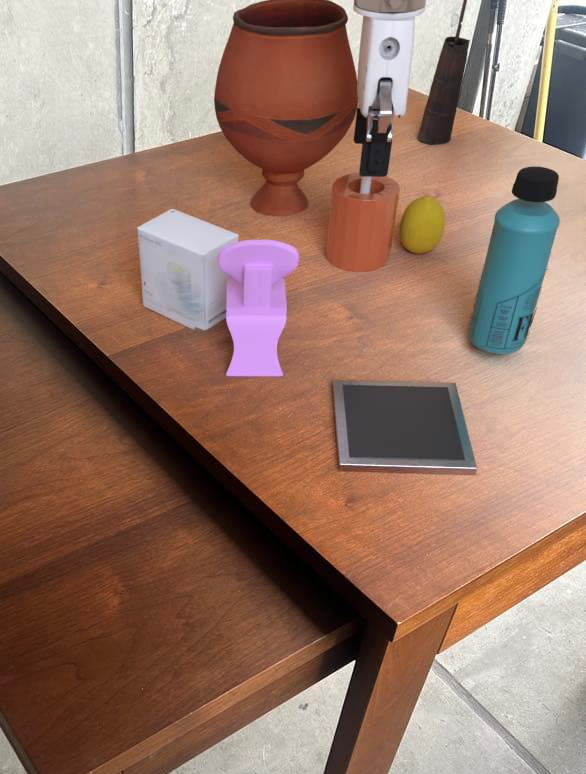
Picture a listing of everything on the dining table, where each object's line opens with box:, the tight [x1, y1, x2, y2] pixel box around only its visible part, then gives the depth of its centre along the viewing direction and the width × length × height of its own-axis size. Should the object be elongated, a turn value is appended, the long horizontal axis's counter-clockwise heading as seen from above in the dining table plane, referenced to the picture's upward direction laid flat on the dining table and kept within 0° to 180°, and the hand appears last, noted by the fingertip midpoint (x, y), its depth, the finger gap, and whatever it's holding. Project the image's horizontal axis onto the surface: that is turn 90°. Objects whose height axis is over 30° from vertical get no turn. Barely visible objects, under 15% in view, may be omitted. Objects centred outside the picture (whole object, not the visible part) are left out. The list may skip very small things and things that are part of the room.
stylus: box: [360, 177, 372, 194], centre depth 107 cm, size 1×1×15 cm
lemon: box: [399, 194, 446, 255], centre depth 111 cm, size 6×6×8 cm
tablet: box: [331, 379, 478, 476], centre depth 88 cm, size 13×14×1 cm
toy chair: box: [218, 239, 300, 377], centre depth 93 cm, size 8×9×15 cm
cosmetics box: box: [136, 208, 240, 331], centre depth 101 cm, size 10×6×10 cm, turn 47°
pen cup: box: [325, 172, 401, 273], centre depth 109 cm, size 8×8×10 cm
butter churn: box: [417, 0, 471, 145], centre depth 130 cm, size 9×10×28 cm
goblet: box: [213, 0, 359, 218], centre depth 116 cm, size 19×19×25 cm
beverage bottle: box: [467, 165, 561, 355], centre depth 91 cm, size 6×7×20 cm
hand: (369, 158), depth 103 cm, fingers open, 9 cm apart
